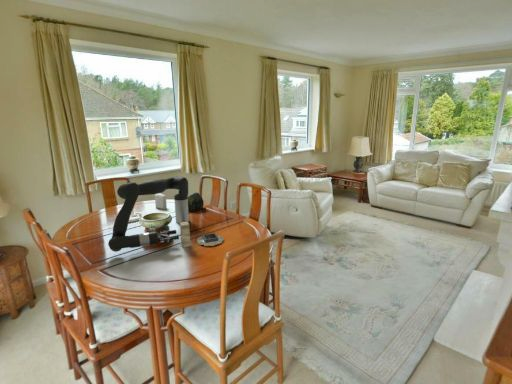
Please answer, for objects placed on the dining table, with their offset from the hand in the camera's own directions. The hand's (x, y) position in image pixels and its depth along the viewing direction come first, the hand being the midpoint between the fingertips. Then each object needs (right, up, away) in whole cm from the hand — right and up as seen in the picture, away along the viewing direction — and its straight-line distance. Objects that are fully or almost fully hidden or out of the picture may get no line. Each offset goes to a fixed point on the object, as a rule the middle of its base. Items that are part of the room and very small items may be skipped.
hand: (177, 234), depth 171 cm
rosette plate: (+18, -6, +10) cm, 21 cm away
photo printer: (-34, +11, +74) cm, 82 cm away
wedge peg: (+4, -7, +4) cm, 9 cm away
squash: (-5, +10, +71) cm, 72 cm away
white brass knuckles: (-48, +4, +47) cm, 67 cm away
